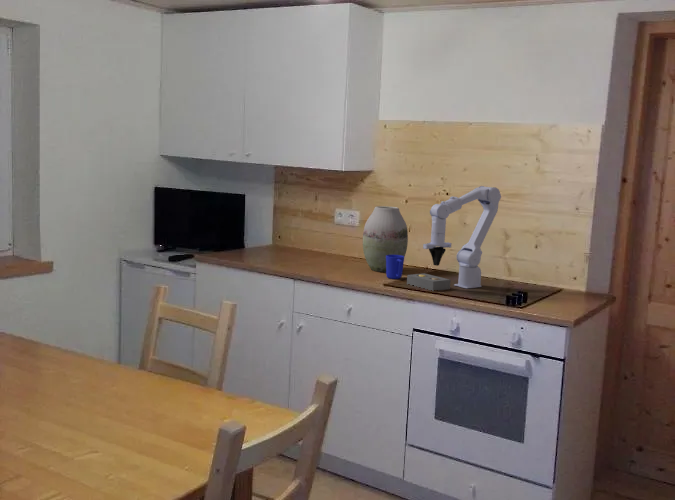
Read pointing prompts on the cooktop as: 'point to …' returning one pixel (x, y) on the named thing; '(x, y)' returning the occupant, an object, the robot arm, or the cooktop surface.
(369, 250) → the vase
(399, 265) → the mug
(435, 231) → the robot arm
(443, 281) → the block
